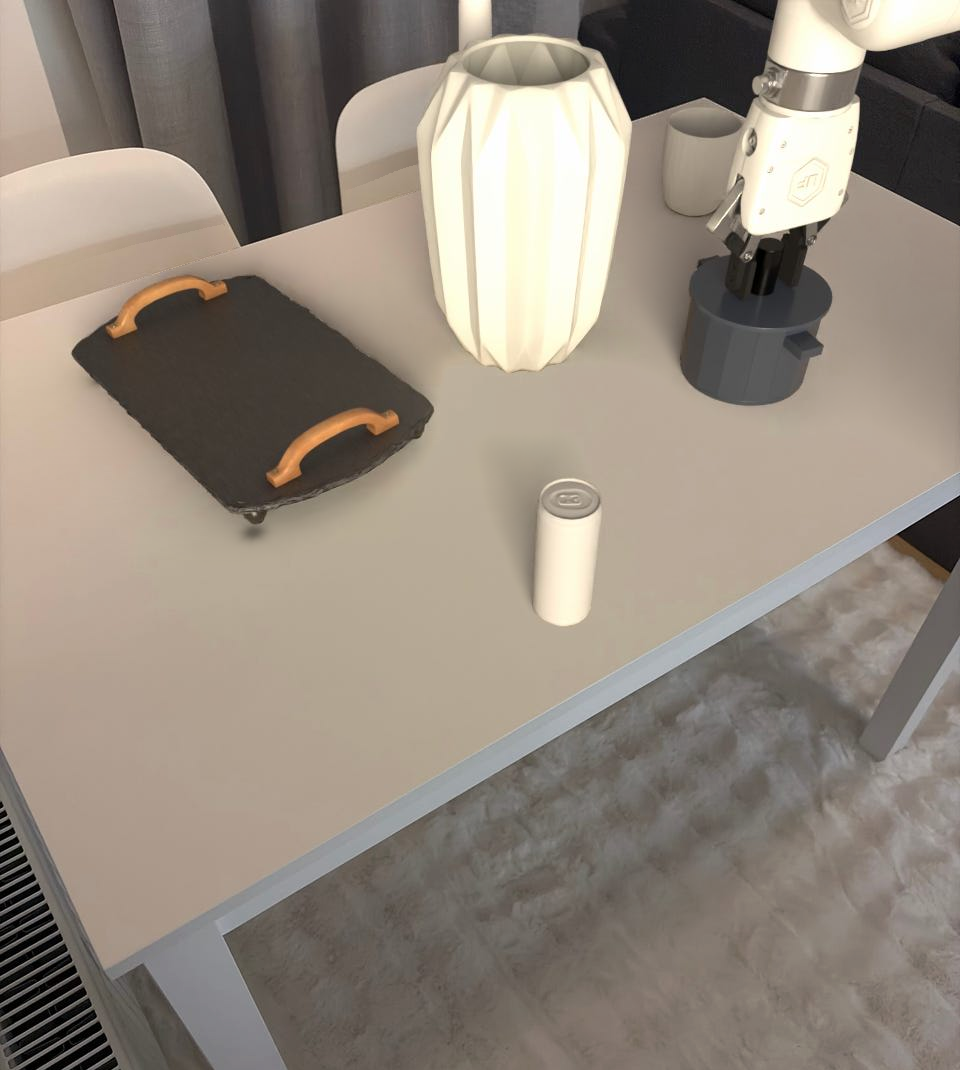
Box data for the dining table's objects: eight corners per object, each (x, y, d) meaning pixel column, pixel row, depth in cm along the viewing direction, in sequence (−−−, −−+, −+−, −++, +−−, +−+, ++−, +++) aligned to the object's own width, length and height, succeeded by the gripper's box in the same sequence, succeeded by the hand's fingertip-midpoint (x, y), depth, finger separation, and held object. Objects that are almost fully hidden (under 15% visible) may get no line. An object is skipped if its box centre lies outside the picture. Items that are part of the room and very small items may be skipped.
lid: (775, 251, 98) (788, 198, 94) (859, 318, 90) (877, 262, 86) (661, 281, 95) (669, 226, 90) (737, 352, 87) (750, 296, 82)
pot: (744, 311, 105) (760, 237, 99) (845, 401, 95) (871, 325, 88) (645, 338, 102) (655, 264, 96) (738, 434, 92) (757, 358, 85)
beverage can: (592, 630, 76) (606, 521, 67) (532, 630, 76) (538, 521, 67) (589, 586, 79) (601, 476, 70) (531, 586, 79) (536, 476, 70)
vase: (429, 399, 96) (410, 110, 74) (429, 295, 108) (413, 21, 87) (620, 394, 96) (657, 103, 75) (599, 291, 108) (624, 16, 87)
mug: (643, 208, 120) (653, 125, 113) (678, 182, 125) (690, 100, 117) (733, 237, 116) (750, 153, 108) (766, 208, 120) (785, 125, 112)
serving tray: (62, 361, 101) (40, 308, 96) (248, 284, 110) (237, 232, 105) (256, 556, 82) (241, 502, 77) (461, 442, 91) (459, 388, 86)
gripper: (746, 117, 73) (706, 327, 87) (923, 79, 77) (857, 286, 91) (695, 82, 77) (664, 287, 91) (864, 48, 82) (810, 250, 96)
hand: (761, 285), depth 91 cm, fingers open, 4 cm apart
